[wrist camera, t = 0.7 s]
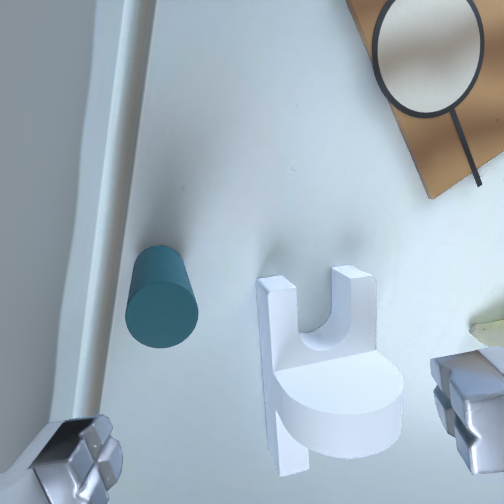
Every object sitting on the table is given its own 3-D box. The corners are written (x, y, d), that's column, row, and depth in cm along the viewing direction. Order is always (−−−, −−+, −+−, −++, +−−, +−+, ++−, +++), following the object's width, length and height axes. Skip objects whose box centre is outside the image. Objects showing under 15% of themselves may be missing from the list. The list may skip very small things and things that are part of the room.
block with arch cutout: (356, 426, 41) (427, 516, 30) (268, 448, 39) (311, 554, 28) (354, 263, 36) (436, 303, 26) (255, 278, 34) (301, 329, 24)
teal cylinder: (123, 260, 31) (109, 308, 21) (165, 233, 31) (172, 267, 21) (152, 298, 32) (153, 361, 22) (192, 272, 33) (211, 322, 22)
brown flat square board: (333, -10, 31) (337, -14, 30) (530, -130, 32) (538, -136, 32) (430, 216, 37) (435, 217, 37) (588, 106, 39) (596, 105, 39)
